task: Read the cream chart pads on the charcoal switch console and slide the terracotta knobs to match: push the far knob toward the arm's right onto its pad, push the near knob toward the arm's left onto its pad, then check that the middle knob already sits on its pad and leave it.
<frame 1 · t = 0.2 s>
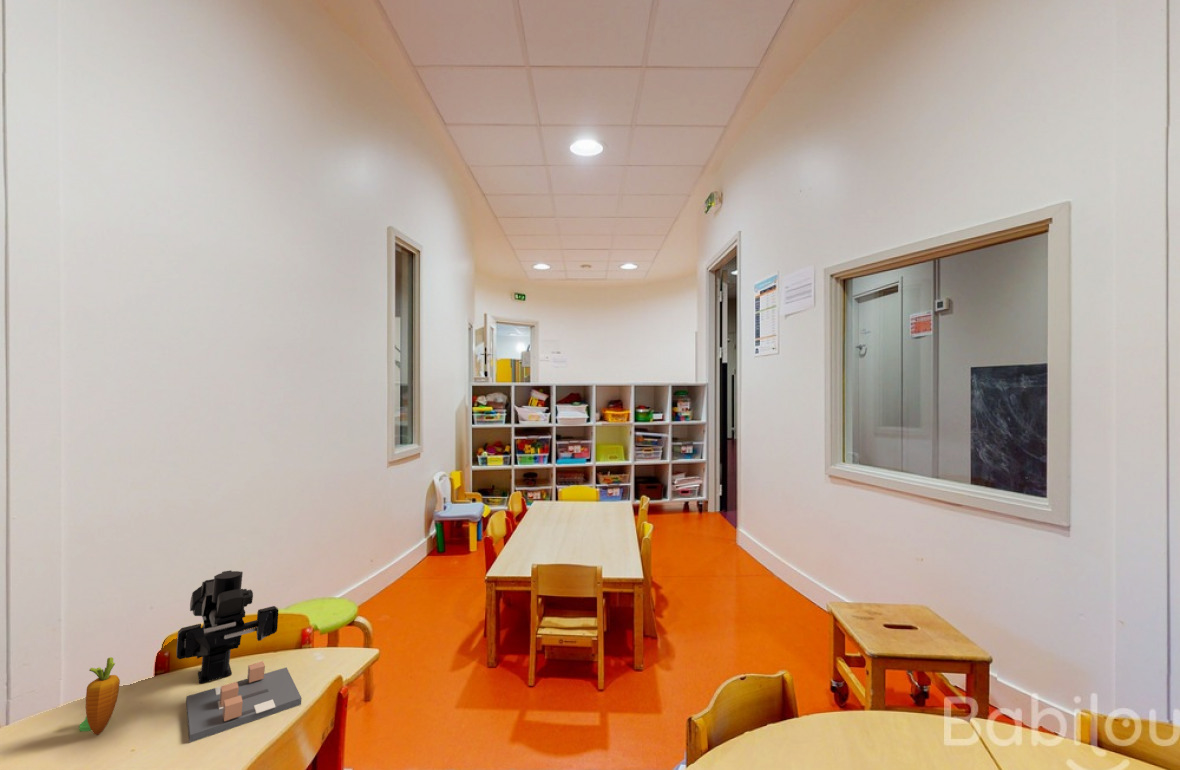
hand: (235, 645, 103), 17 cm above the table, tool horizontal, fingers open, 9 cm apart
slider middle: (229, 693, 106), point 3 cm above the table, slide at -3.0 cm
slider near: (232, 708, 101), point 3 cm above the table, slide at -3.0 cm
game piece: (93, 726, 99), on the table
carrot: (97, 735, 96), on the table
slider far: (256, 671, 115), point 3 cm above the table, slide at 3.0 cm
switch console: (243, 703, 108), on the table
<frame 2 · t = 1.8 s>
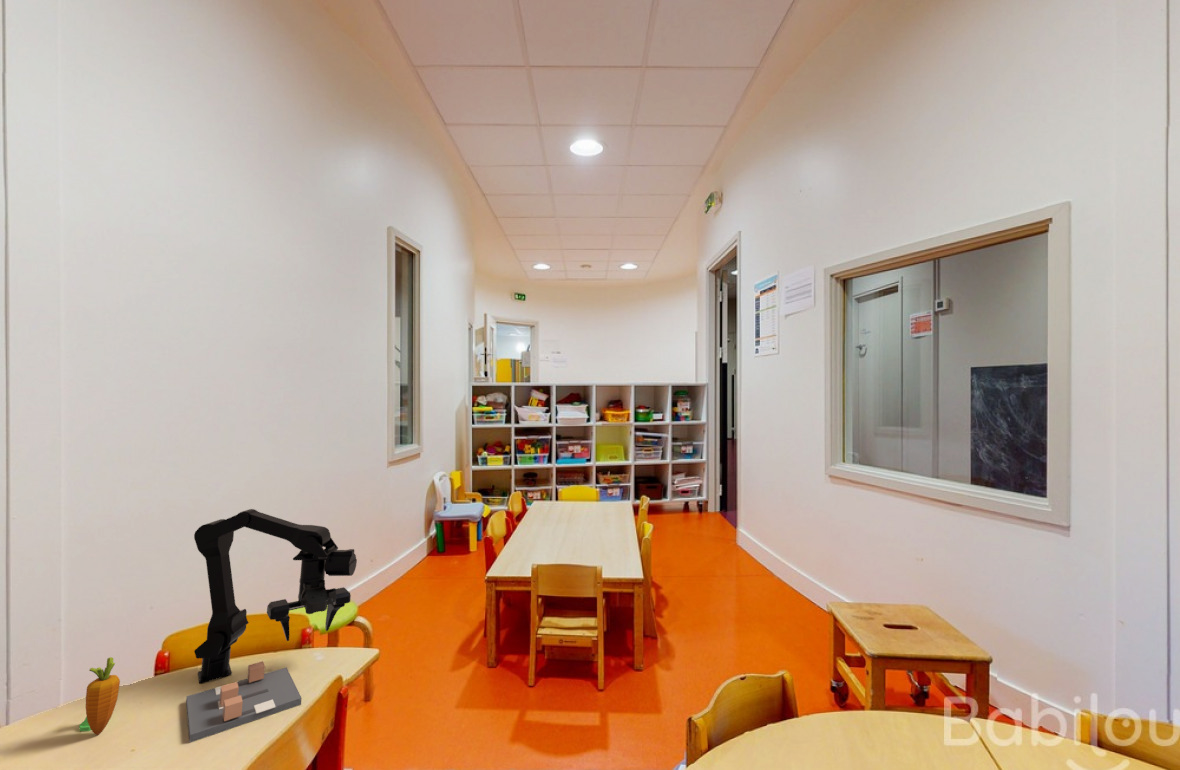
hand: (307, 635, 123), 9 cm above the table, tool pointing down, fingers open, 9 cm apart
nothing on the table moved.
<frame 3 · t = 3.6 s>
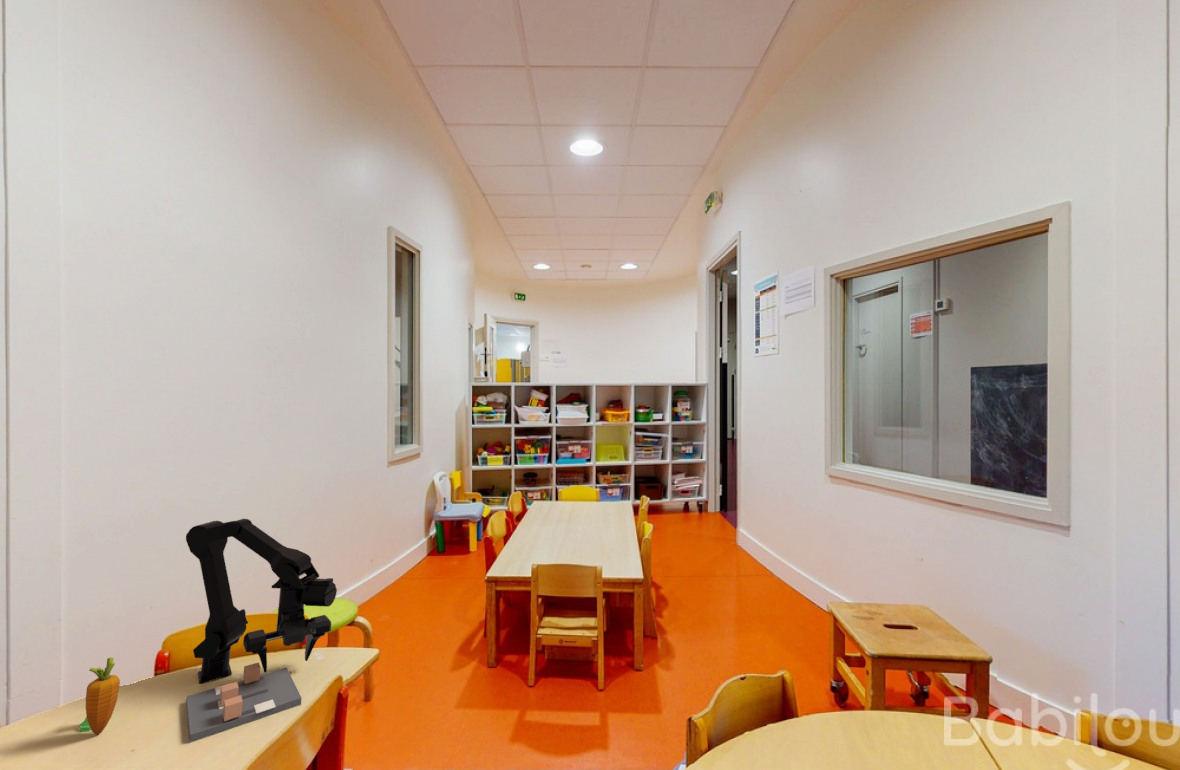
hand: (286, 666, 120), 3 cm above the table, tool pointing down, fingers open, 9 cm apart
slider far: (251, 672, 115), point 3 cm above the table, slide at 2.1 cm, touching gripper
everything else where it was.
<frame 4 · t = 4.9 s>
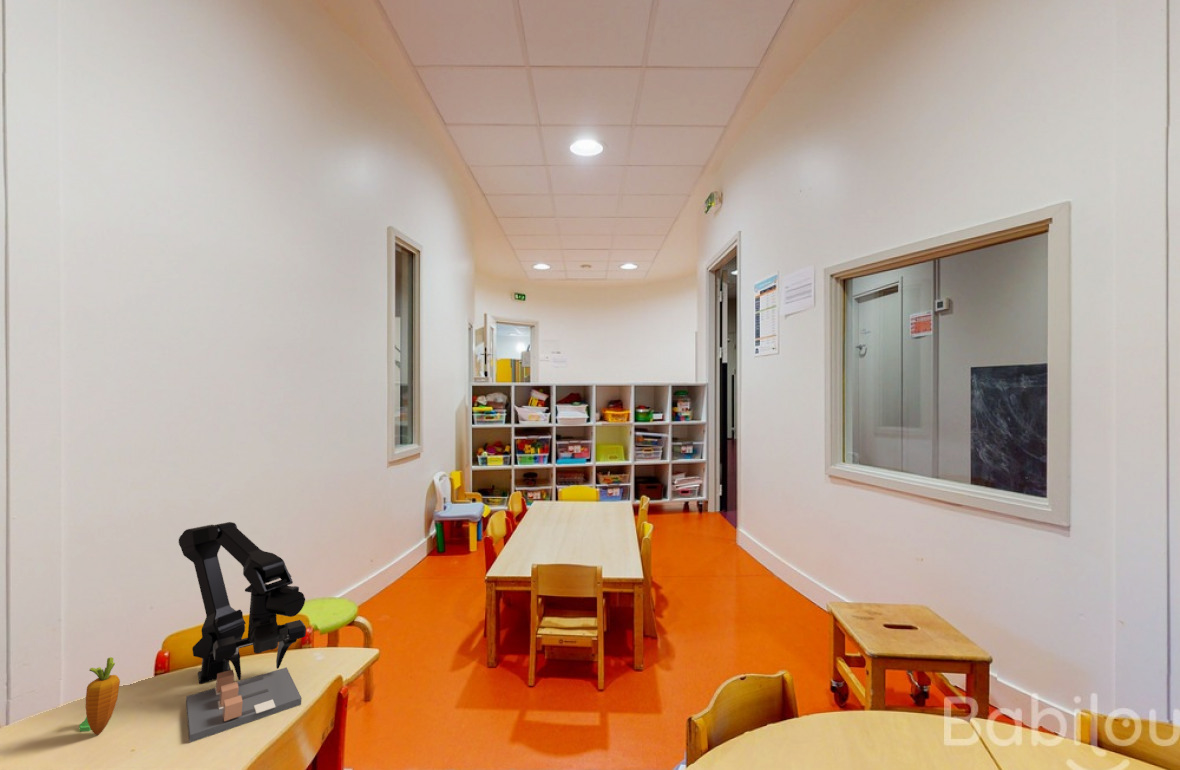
hand: (258, 673, 116), 3 cm above the table, tool pointing down, fingers open, 8 cm apart
slider far: (225, 680, 111), point 3 cm above the table, slide at -3.2 cm, touching gripper
everything else where it was.
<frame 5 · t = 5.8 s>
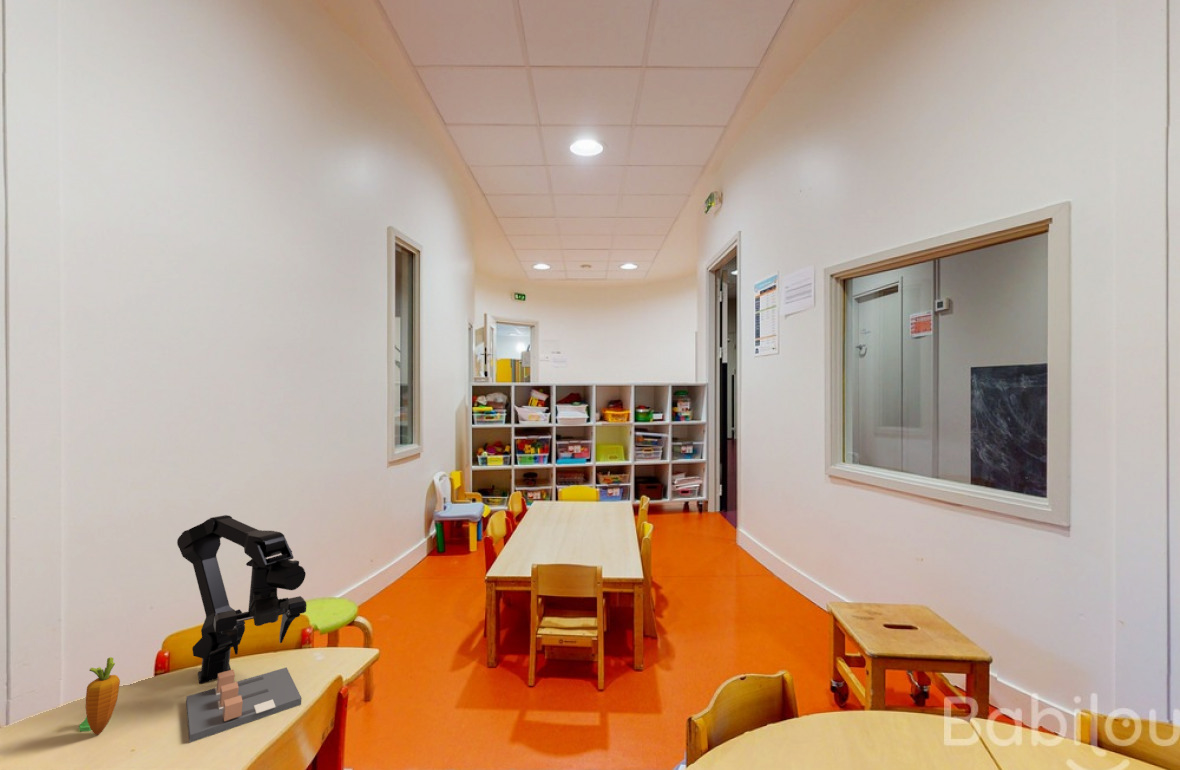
hand: (259, 648, 116), 9 cm above the table, tool pointing down, fingers open, 9 cm apart
slider far: (225, 680, 111), point 3 cm above the table, slide at -3.0 cm
everything else where it was.
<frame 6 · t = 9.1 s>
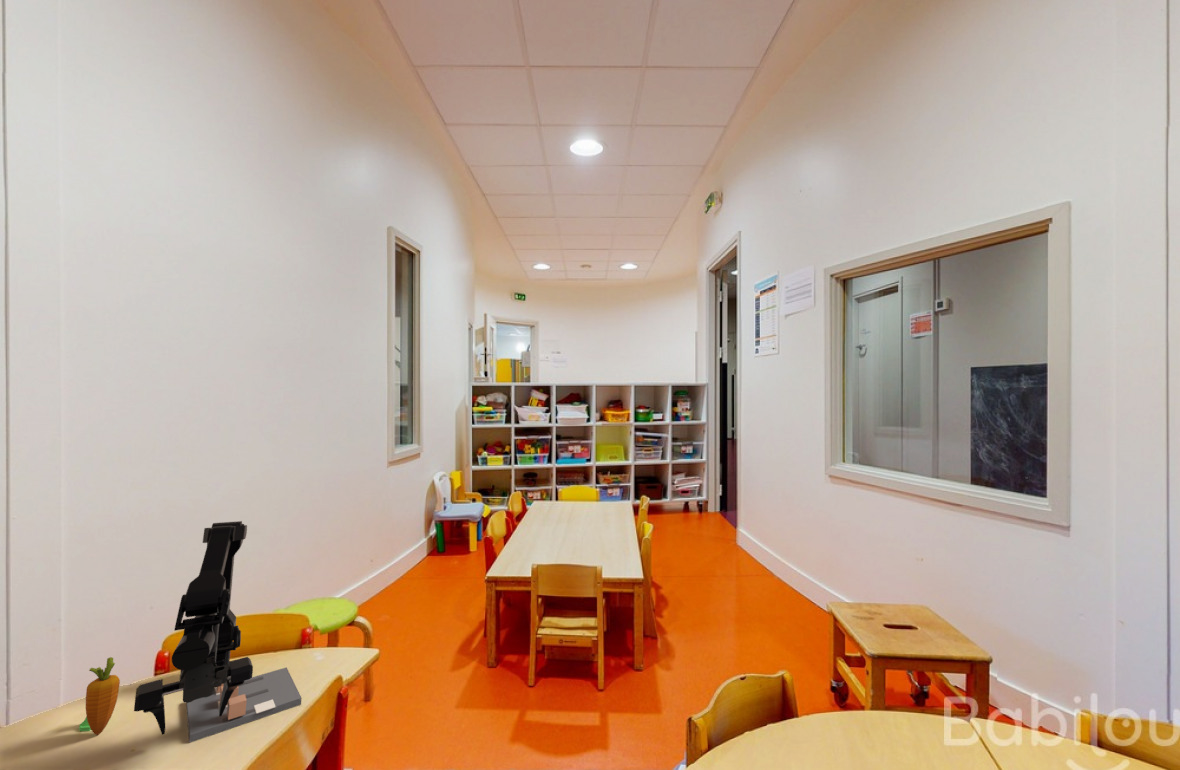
hand: (192, 724, 96), 3 cm above the table, tool pointing down, fingers open, 9 cm apart
slider near: (236, 706, 102), point 3 cm above the table, slide at -2.3 cm, touching gripper
everything else where it was.
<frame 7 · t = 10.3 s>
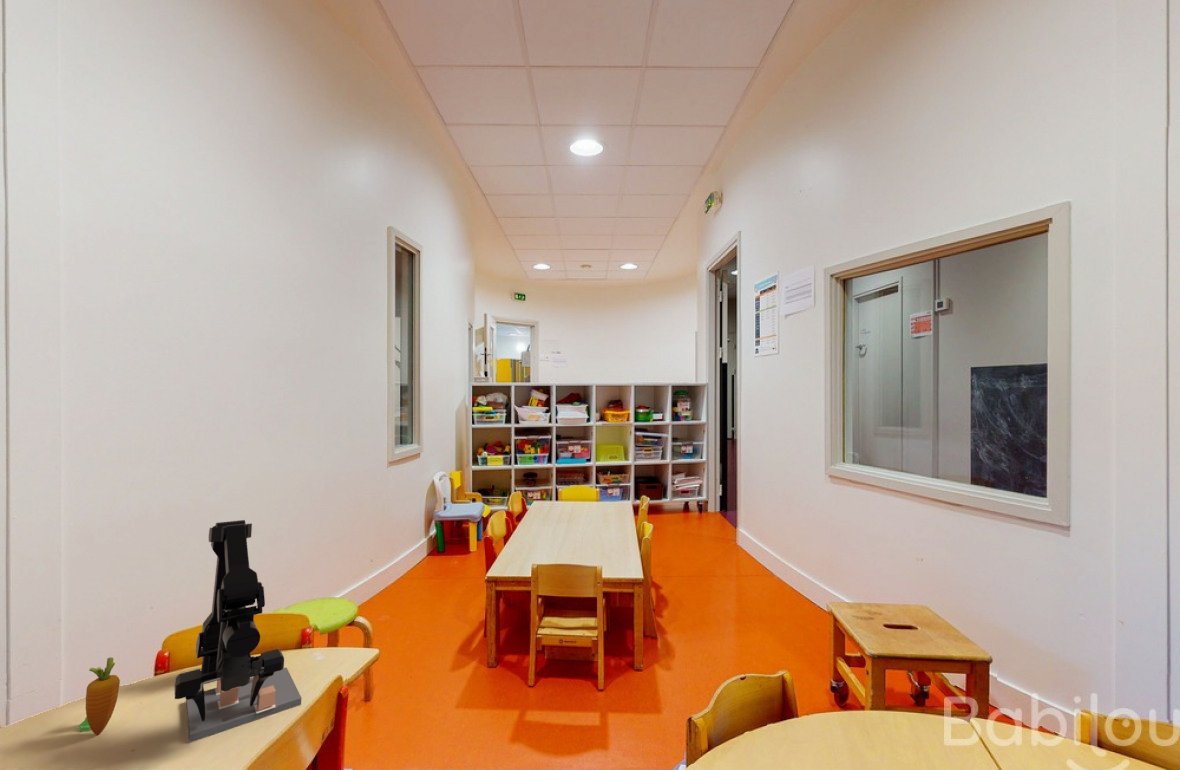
hand: (227, 712, 100), 3 cm above the table, tool pointing down, fingers open, 8 cm apart
slider near: (266, 697, 105), point 3 cm above the table, slide at 3.1 cm, touching gripper
everything else where it was.
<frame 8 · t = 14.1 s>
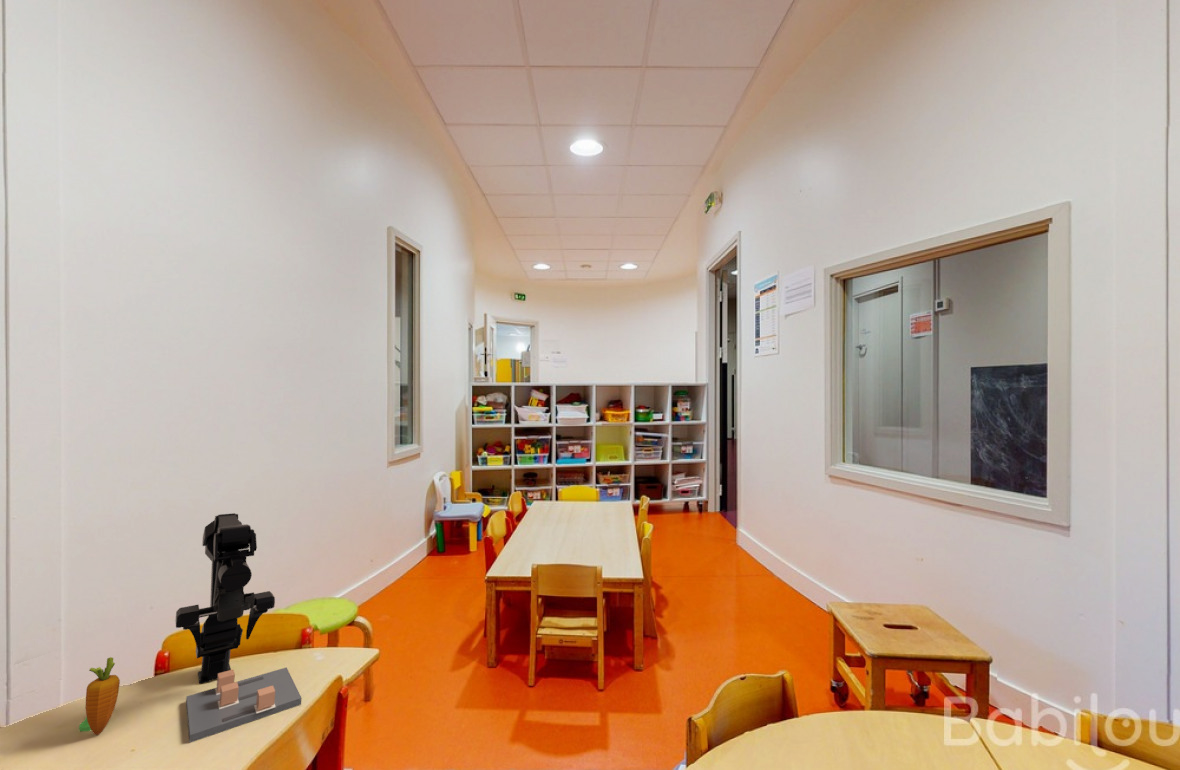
hand: (223, 644, 112), 12 cm above the table, tool pointing down, fingers open, 9 cm apart
slider near: (265, 697, 105), point 3 cm above the table, slide at 3.0 cm
everything else where it was.
at the end: slider far slide at -3.0 cm; slider near slide at 3.0 cm; slider middle slide at -3.0 cm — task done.
